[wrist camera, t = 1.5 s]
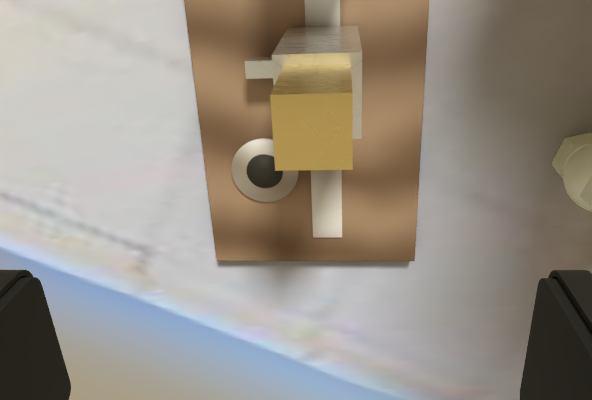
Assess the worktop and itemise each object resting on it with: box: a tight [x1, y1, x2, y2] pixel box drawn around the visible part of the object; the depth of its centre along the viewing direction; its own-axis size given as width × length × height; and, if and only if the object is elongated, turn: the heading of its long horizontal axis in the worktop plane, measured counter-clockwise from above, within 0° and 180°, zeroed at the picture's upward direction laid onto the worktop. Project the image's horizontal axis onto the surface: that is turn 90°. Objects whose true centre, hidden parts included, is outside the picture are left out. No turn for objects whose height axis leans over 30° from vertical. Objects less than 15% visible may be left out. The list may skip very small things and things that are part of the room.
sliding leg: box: [244, 26, 362, 171], centre depth 26 cm, size 4×6×13 cm, turn 93°
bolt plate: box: [184, 0, 429, 261], centre depth 29 cm, size 30×14×10 cm, turn 3°
